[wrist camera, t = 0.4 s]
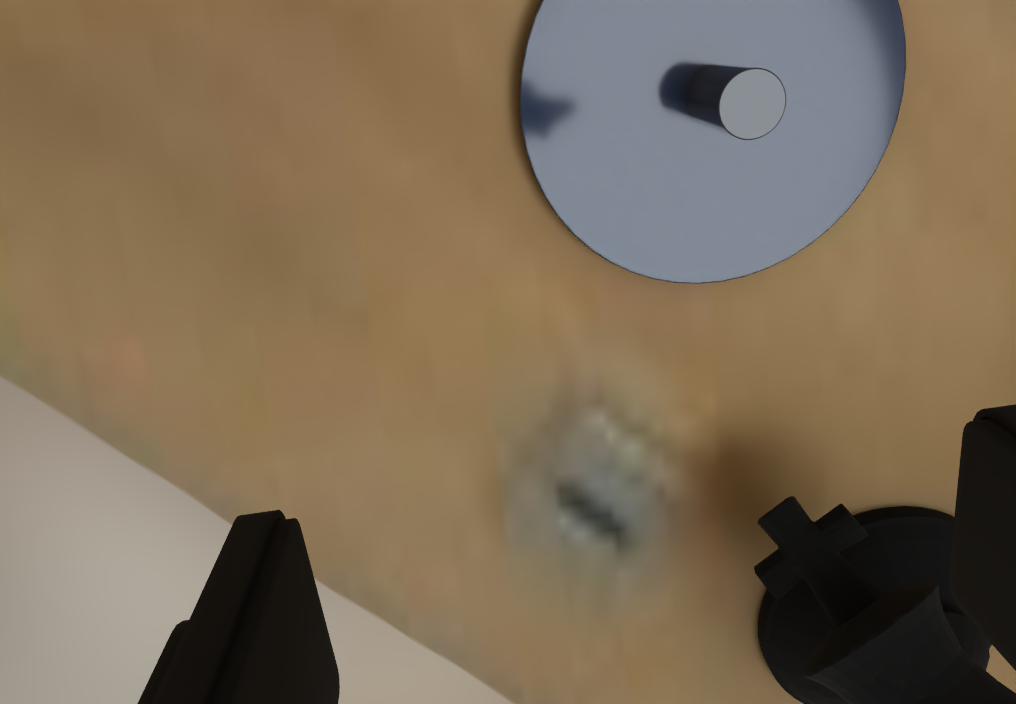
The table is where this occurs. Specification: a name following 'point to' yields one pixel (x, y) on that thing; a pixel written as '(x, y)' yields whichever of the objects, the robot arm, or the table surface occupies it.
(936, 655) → the sculpture
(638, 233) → the lid
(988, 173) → the table surface
